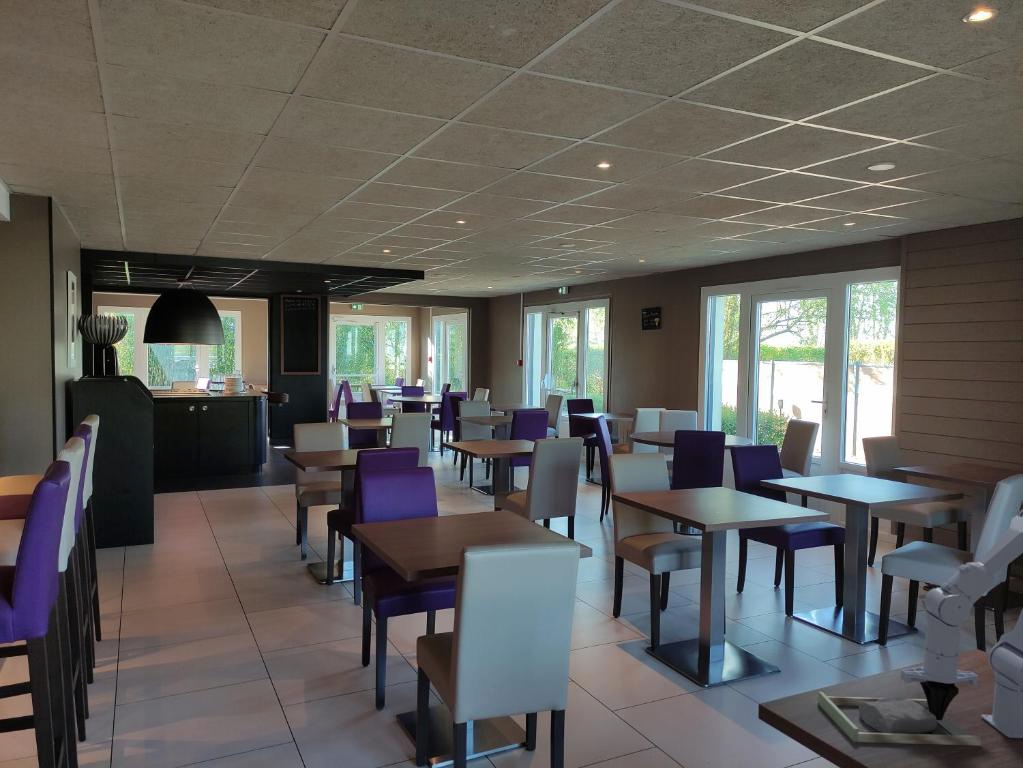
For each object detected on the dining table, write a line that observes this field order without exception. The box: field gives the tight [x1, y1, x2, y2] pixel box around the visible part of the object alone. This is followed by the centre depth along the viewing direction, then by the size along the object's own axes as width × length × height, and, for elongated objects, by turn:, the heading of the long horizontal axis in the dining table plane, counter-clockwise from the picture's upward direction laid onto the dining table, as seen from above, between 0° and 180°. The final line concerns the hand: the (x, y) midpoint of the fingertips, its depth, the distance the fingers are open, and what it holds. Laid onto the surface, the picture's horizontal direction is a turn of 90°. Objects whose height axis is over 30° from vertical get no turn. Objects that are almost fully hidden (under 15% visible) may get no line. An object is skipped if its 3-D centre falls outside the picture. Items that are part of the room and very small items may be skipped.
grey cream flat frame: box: [826, 695, 982, 746], centre depth 142 cm, size 24×14×2 cm, turn 92°
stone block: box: [858, 696, 938, 734], centre depth 141 cm, size 12×5×10 cm
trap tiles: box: [925, 708, 969, 736], centre depth 142 cm, size 7×12×1 cm, turn 2°
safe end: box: [817, 691, 859, 743], centre depth 141 cm, size 1×14×2 cm, turn 2°
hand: (935, 717), depth 142 cm, fingers closed
